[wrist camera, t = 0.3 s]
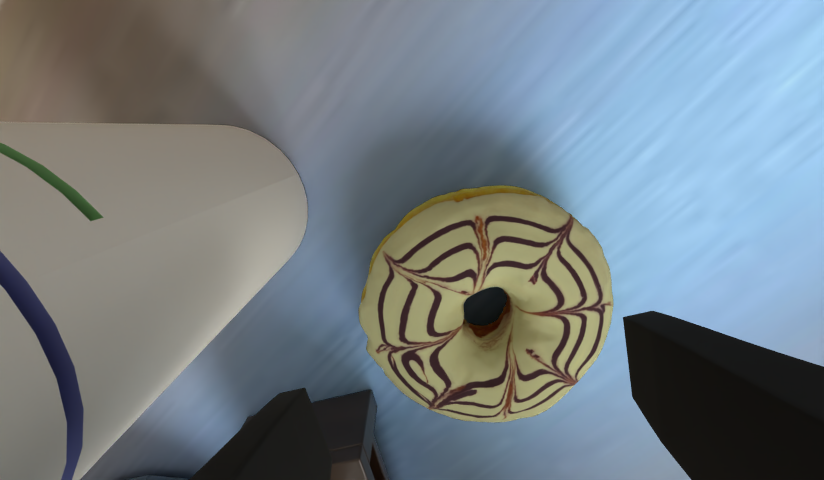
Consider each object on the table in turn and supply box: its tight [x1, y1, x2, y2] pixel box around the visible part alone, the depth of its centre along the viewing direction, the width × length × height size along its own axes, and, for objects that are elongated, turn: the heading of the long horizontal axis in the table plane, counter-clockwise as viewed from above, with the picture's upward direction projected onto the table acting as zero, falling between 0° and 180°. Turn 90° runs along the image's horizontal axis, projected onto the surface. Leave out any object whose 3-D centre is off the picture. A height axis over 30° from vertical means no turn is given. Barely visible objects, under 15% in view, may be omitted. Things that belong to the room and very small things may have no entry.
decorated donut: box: [359, 185, 613, 422], centre depth 17 cm, size 10×11×4 cm
